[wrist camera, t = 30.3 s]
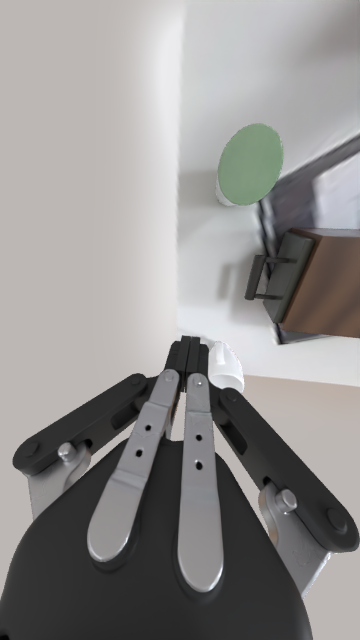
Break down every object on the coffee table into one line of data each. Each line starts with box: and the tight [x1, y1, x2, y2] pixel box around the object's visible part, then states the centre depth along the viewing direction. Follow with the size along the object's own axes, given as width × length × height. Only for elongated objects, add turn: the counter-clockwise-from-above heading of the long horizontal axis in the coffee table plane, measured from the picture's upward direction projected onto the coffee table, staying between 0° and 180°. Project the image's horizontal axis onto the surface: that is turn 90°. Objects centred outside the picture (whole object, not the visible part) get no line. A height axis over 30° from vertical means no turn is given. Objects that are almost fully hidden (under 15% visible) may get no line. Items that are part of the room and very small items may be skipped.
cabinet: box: [278, 228, 360, 338], centre depth 26 cm, size 15×14×9 cm
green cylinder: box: [216, 123, 283, 206], centre depth 19 cm, size 5×5×16 cm
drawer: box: [244, 232, 316, 323], centre depth 27 cm, size 18×13×7 cm
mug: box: [208, 341, 244, 393], centre depth 38 cm, size 12×8×11 cm
